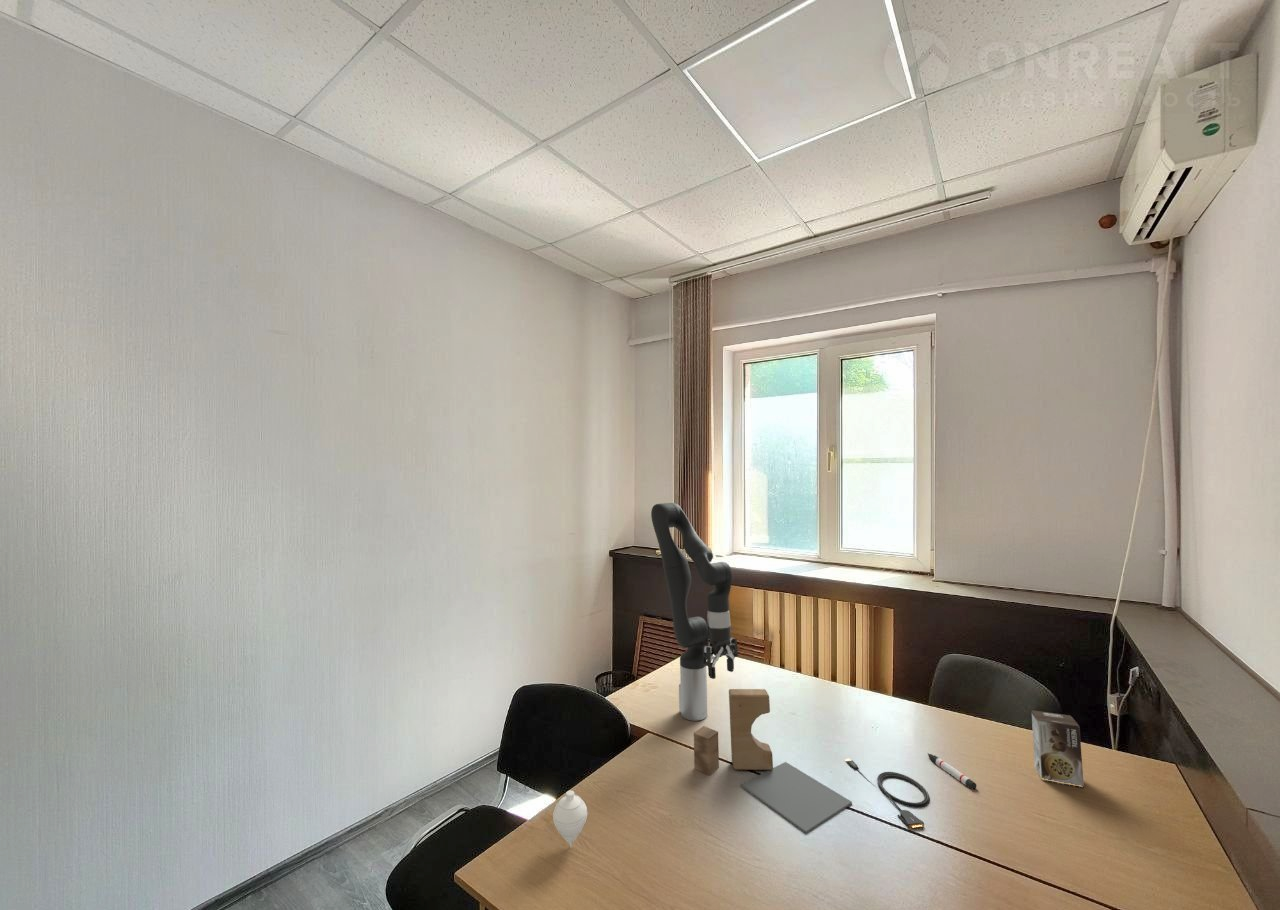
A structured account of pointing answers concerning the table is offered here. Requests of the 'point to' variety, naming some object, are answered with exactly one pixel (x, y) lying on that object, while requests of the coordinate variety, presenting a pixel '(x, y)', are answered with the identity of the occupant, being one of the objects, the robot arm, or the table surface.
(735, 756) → the decorative block
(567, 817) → the spinning top
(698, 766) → the walnut block
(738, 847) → the table surface
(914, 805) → the cable
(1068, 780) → the coffee box
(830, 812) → the mat
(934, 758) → the marker
